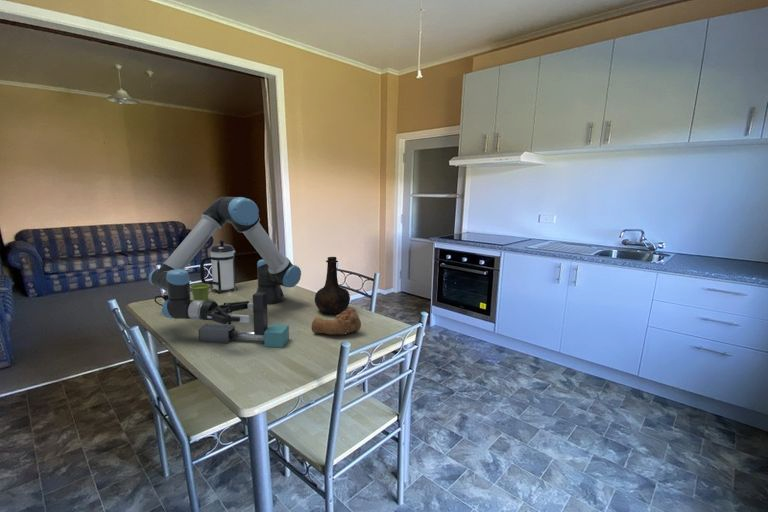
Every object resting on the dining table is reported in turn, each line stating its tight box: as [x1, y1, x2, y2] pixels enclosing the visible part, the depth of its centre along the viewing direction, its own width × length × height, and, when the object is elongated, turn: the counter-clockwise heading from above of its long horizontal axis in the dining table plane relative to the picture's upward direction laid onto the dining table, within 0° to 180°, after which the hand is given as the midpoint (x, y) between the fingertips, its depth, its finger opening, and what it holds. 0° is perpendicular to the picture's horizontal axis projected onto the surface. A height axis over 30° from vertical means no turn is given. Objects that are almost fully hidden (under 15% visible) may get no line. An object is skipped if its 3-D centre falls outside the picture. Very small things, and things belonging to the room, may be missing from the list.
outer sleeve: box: [197, 323, 237, 344], centre depth 139 cm, size 12×6×5 cm, turn 87°
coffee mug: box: [154, 290, 168, 307], centre depth 166 cm, size 12×9×10 cm
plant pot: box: [190, 283, 211, 301], centre depth 182 cm, size 9×9×9 cm
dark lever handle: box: [229, 291, 269, 341], centre depth 136 cm, size 19×4×19 cm, turn 87°
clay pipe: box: [311, 307, 362, 336], centre depth 149 cm, size 19×11×15 cm
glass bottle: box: [314, 256, 351, 314], centre depth 173 cm, size 18×18×28 cm
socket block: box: [263, 324, 290, 348], centre depth 137 cm, size 7×8×6 cm
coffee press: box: [199, 239, 238, 294], centre depth 200 cm, size 17×16×30 cm
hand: (256, 312), depth 136 cm, fingers open, 13 cm apart
